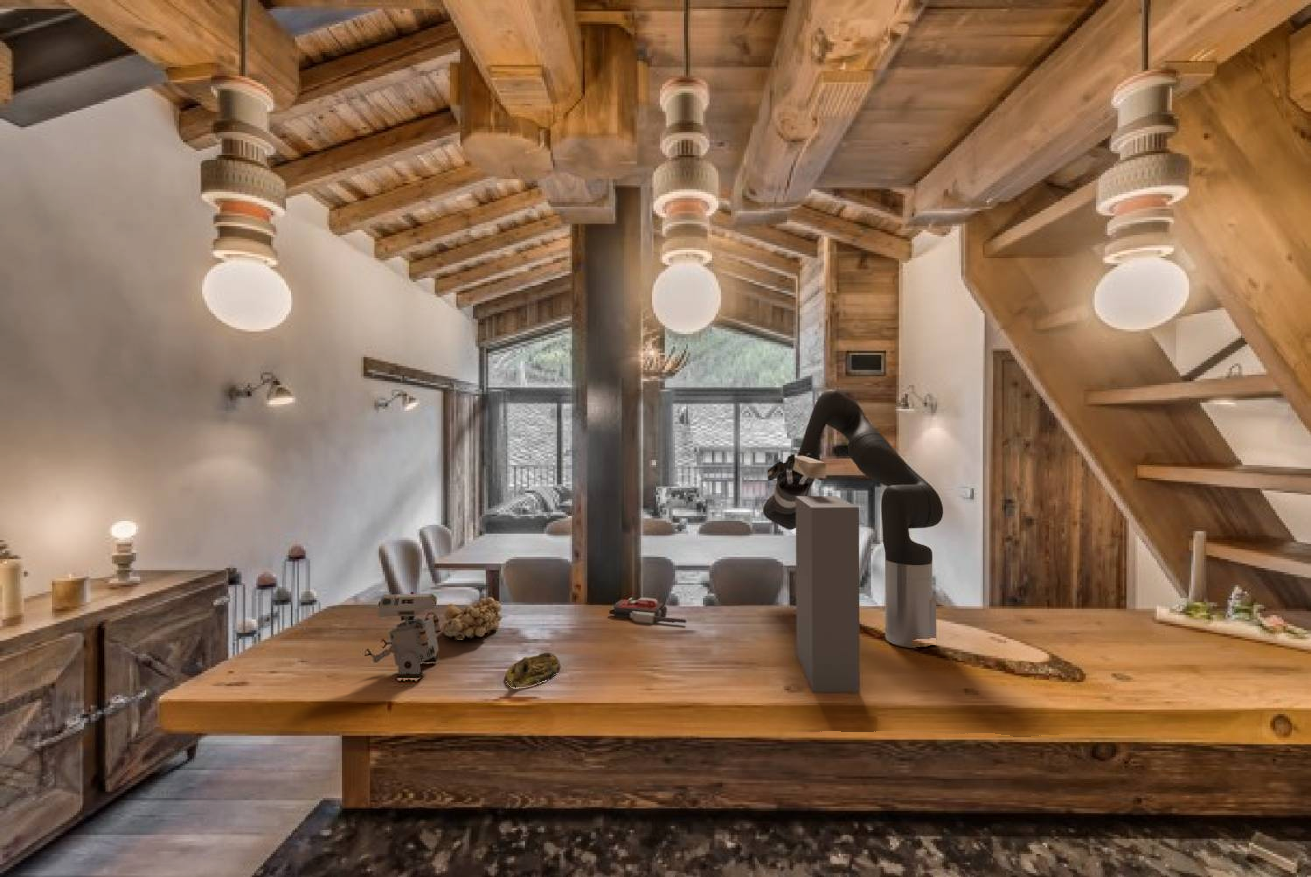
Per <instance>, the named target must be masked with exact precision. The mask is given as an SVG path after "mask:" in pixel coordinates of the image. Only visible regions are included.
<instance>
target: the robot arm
mask: <svg viewBox="0 0 1311 877" xmlns="http://www.w3.org/2000/svg"><path fill="white" fill-rule="evenodd" d="M826 426H829V427H830V428H832V429H834V430H836V431H837V432H839V433H841V434H842V435H843V436H844V437H845V438H846V439H847V441H848V444H847V451H848V454H849V456H850V458H851V460H852V462H853V463H854V464H855V466H856V467H857V468H858V470H859V471H860V472H861V473H862V474H863V475H865V476H866V477H868V478H870V479H871V480H873V481H875V482H877V483H879V484H881V485H883V486H885V487H886V488H885V489H884V490H883V493H882V495H881V502H880V503H881V504H880V505H881V506H880V511H881V512H880V513H881V525H882V526H881V528H882V543H883V549H884V567H885V568H884V575H885V576H884V577H885V578H884V582H885V583H884V586H885V588H884V590H885V591H884V592H885V593H884V594H885V595H884V599H885V600H884V601H885V602H884V603H885V604H884V605H885V606H884V608H885V609H884V610H885V611H884V615H885V617H884V622H885V623H884V624H885V627H884V632H885V640H886V641H887V642H888V643H891V644H893V645H896V646H899V647H904V648H909V649H917V648H916V646H915V645H914V644H912V643H911V641H913V640H916V639H930V638H936V639H937V600H936V599H935V598H934V597H933V550H932V549H931V547H929V546H927V545H925V544H922V543H918V542H916V541H914V540H912V539H911V536H910V532H909V529H927V528H931V527H934V526H936V525H938V524H939V523H940V522H941V521H942V519H943V517H944V508H943V507H944V506H943V503H942V500H941V497H940V495H939V494H938V492H937V491H936V490H935V488H934V487H933V486H932V485H931V484H929V482H928V481H926V480H925V479H924V478H923V477H922V476H920V474H918V472H916V471H915V470H914V469H913V468H912V467H911V466H910V465H909V464H908V463H907V462H906V461H905V460H904V459H903V458H902V456H901V455H900V454H898V452H897V451H896V450H895V449H894V447H893V446H892V445H891V444H890V442H889V441H888V440H887V439H886V438H885V436H883V434H881V433H880V432H879V430H878V429H877V428H876V427H875V426H873V424H871V422H870V421H869V419H868V418H867V416H866V415H865V413H864V411H863V409H862V408H861V407H860V405H859V403H857V402H856V401H855V400H854V399H852V398H850V397H849V396H847V395H846V394H843V393H842V392H841V391H838V390H836V389H831V388H830V389H827V390H825V391H824V392H823V393H822V394H821V395H820V396H819V397H818V399H817V400H816V402H815V404H814V406H813V409H812V412H811V414H810V417H809V420H808V422H807V425H806V429H805V432H804V435H803V438H802V441H801V445H800V448H799V450H798V452H797V455H795V453H790V455H788V456H787V458H786V460H785V461H784V462H783V461H778V462H776V463H774V465H772V466H771V467H770V468H768V469H767V470H766V471H767V472H766V474H767V481H769V482H771V481H774V480H776V483H775V486H774V493H773V494H772V495H771V496H770V497H769V498H767V500H766V501H765V503H764V505H763V507H762V512H763V515H764V517H765V518H766V519H768V520H769V521H771V522H773V523H775V524H776V525H778V526H781V527H782V528H784V529H786V530H790V531H791V530H794V529H795V530H796V496H808V493H809V491H810V489H811V487H812V485H813V483H814V481H815V479H817V480H818V481H824V480H825V478H809V477H807V476H805V475H802V474H800V473H798V472H796V471H794V470H792V469H793V466H794V463H795V456H805V457H809V458H812V459H815V460H818V461H821V460H820V459H821V451H820V450H821V439H822V435H823V432H824V430H825V428H826Z"/></svg>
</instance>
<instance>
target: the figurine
mask: <svg viewBox="0 0 1311 877" xmlns="http://www.w3.org/2000/svg"><path fill="white" fill-rule="evenodd" d="M437 600H438V597H437V596H436V595H434V594H433V593H415V592H414V591H411V592H410V593H405V594H404V593H403V594H402V593H401V594H400V593H399V594H398V593H397V594H392V593H391V594H382V596H381V597H380V600H379V602H378V618H380V617H382V618H383V617H400V621H401V622H399V623H398V624H396V627H394V628H392V630H391V631H389V633H388V634H389V637H390V641H386V640H385V639H384V638H382V639H381V641H380V643H382V642H383V643H384V645H383V646H380V647H381V648H382V649H384V650H383V651H382V652H380V653H378V654H374V653H373V652H371V651H370V649H369V648H367V649H366V650H365V651H364V657H368V656H370V657H372V661H373V663H375V664H376V663H379V662H380V661H381V660H382V659H383V658H385V657H388V656H390V654H391V653H392V654H393V657H394V662H395V665H396V666H398V668H397V674H396V679H397V678H420V677H421V676H422V677H423V673H422V671H421V669H422V668H421V665H420V663H421V662H436V661H437V659H438V660H439V658H438V655H437V653H438V652H439V651H440V649H439V644H438V639H437V634H439V633H442V632H441V627H440V618H439V616H438V615H437V614H435V613H434V612H429V613H427V615H426V617H424V618H423V617H416V616H418V615H420V614H421V613H423V612H425V611H426V610H435V609H436V607H437ZM431 614H433V616H432V618H431V617H428V616H429V615H431ZM387 645H390V646H389V647H388V649H387V648H386V646H387ZM385 648H386V649H385ZM366 652H368V653H367V654H366ZM437 662H438V661H437ZM437 662H436V663H437Z"/></svg>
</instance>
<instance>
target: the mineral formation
mask: <svg viewBox="0 0 1311 877" xmlns="http://www.w3.org/2000/svg"><path fill="white" fill-rule="evenodd" d="M499 602H500V601H498V600H495V599H494V598H493V597H490V596H489V597H487V598H486V599H485V598H483V597H482V598H479V600H478V602H477V603H475V604H473V603H472V604H471V605H470V604H469V605H466V606H465V608H463V609H462V610H461V609H460V608H459V607H458V606H457V605H454V604H453V603H449V604H447V606H446V608H445V611H444V619H445V620H446V621H443V623H442V626H441V627H440V629H441V632H440V633H444V635H445V636H447V637H450V638H452V637H454V639H455V640H456V639H457V640H458V639H459V640H460V639H464V640H465V638H466V637H467V638H469V639H473V638H474V637H475V636H477V637H481V638H483V637H484V636H485V635H486V634H485V633H487V634H490V633H491V631H492V630H494V631H493V632H496V631H498V629H499V627H500V621H501V620H502V619H503V615H502V614H500V613H499V612H501V610H502V605H501V603H499ZM495 630H496V631H495ZM465 636H466V637H465ZM457 640H456V641H457Z"/></svg>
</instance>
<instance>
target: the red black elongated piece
mask: <svg viewBox="0 0 1311 877" xmlns="http://www.w3.org/2000/svg"><path fill="white" fill-rule="evenodd" d="M667 608H668V607H667V606H665V603H662V602H659V600H658V599H657V598H656V597H655V598H654V597H645V596H643V597H640V598H638V599H637V600H636V599H634V600H633V597H630V598H628V599H620V600H619V601H617V602H616V603H614V605H613V609H609V611H608V612H609V613H608V614H610V615H613V617H614V618H622V619H623V618H624V619H632V621H634V622H636V623H646V624H651V625H652V624H654V623H655V622H663V623H664V622H666V623H673V624H674V623H681V624H682V623H684V624H686V623H687V620H686V618H678V617H677V618H675V617H674V618H673V617H667V616H666V615H667V612H668V609H667ZM664 616H665V617H664Z"/></svg>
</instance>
